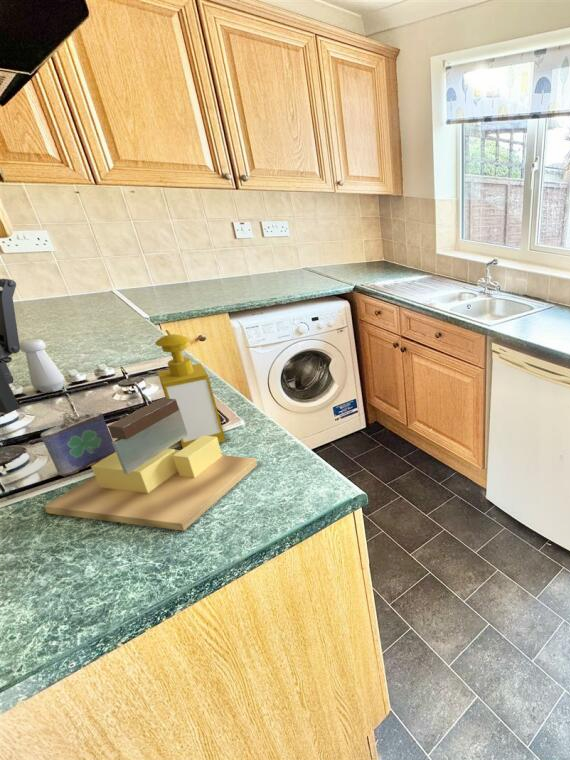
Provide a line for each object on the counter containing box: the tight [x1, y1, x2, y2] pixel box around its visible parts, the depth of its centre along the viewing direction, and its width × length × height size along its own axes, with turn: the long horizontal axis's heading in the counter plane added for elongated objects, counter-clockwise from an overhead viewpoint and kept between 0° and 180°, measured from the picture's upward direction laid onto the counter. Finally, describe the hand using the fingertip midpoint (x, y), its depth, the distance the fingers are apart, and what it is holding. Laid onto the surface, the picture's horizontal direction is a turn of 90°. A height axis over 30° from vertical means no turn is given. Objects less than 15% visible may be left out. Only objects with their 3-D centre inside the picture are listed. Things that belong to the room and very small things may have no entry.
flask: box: [40, 411, 116, 477], centre depth 79 cm, size 9×3×11 cm, turn 164°
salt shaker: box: [19, 338, 66, 394], centre depth 103 cm, size 6×6×13 cm
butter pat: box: [173, 435, 223, 478], centre depth 79 cm, size 3×7×4 cm, turn 174°
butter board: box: [44, 449, 258, 532], centre depth 76 cm, size 24×18×2 cm
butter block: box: [90, 448, 178, 493], centre depth 75 cm, size 9×7×4 cm
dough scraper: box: [107, 397, 188, 474], centre depth 71 cm, size 2×12×8 cm, turn 174°
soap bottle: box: [155, 329, 227, 449], centre depth 87 cm, size 7×13×24 cm, turn 43°
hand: (4, 409), depth 57 cm, fingers closed
